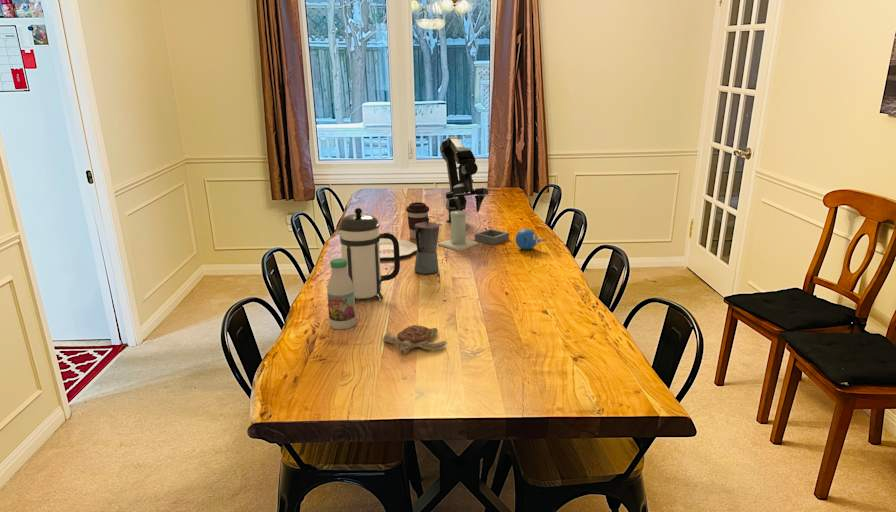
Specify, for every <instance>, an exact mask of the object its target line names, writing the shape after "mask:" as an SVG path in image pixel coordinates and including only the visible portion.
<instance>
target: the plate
mask: <svg viewBox="0 0 896 512" xmlns="http://www.w3.org/2000/svg"><path fill="white" fill-rule="evenodd" d="M396 239H397V240H398V243H399V253H400V258H402V257H403V258H404V257H405V256H406V257H407V256H409V255H411V254H412V253H414V252H417V251H418V250H417V244H416V243H414V242H411V241H410V240H407V239H400V238H399V239H398V238H396ZM379 250H380V251H383V250H392V251H393V252H391V253H382V252H380V260H394V247H393V242H392V241H391V240H390V239H385V238H382V239H380V241H379Z"/></svg>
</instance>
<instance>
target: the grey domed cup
mask: <svg viewBox="0 0 896 512" xmlns="http://www.w3.org/2000/svg"><path fill="white" fill-rule="evenodd" d="M450 215H451V223H450V230H451V232H450V234H451V235H450V237H451V238H450V239H451V243H452V244H456V245H461V244H465V243H466V239H467V238H466V231H467V229H466V228H467V227H466V226H467V225H466V224H467V223H466V222H467V221H466V219H467V216H466V215H467V211H465V210H463V211H452V212H450Z"/></svg>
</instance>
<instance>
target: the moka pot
mask: <svg viewBox="0 0 896 512" xmlns="http://www.w3.org/2000/svg"><path fill="white" fill-rule="evenodd" d="M425 220H426V222H422V223H417V224H415V234H416V239H415V241H416V242H415V244H416V245H417V251H416V254H415V255H416V256H415V262H414V272H416V273H418V274H421V275H422V274H424V275H427V274H428V275H429V274H430V275H431V274H435V273H437V272H439V261H438V252H437V249H438V243H439V241H438V240H439V233H440V224H439V223H436V222H434V221H430V218H429V217H428V218H425Z"/></svg>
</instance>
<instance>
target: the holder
mask: <svg viewBox="0 0 896 512" xmlns="http://www.w3.org/2000/svg"><path fill="white" fill-rule="evenodd" d="M508 240H510V233H509V232H506V231H503V230H498V229H493V228H488V229H485V230H481V231H478V232H476V233H474V241H476V242H480V243H484V244H489V245H493V246H494V245H498V244H501V243H503V242H505V241H508Z"/></svg>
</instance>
